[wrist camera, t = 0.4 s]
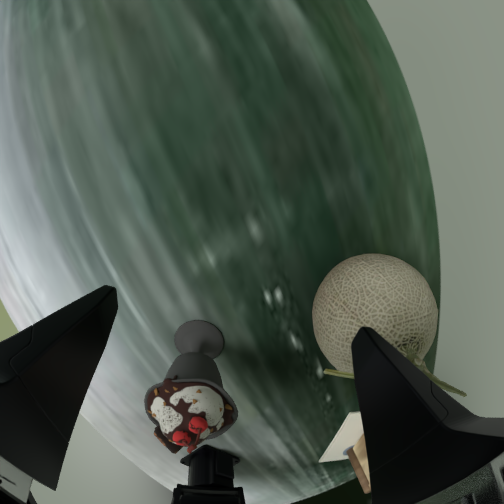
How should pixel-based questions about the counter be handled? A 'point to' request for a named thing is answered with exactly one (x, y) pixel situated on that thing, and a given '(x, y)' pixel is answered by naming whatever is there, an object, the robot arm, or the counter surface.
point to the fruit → (375, 311)
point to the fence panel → (362, 455)
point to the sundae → (191, 391)
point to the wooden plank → (358, 470)
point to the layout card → (344, 438)
